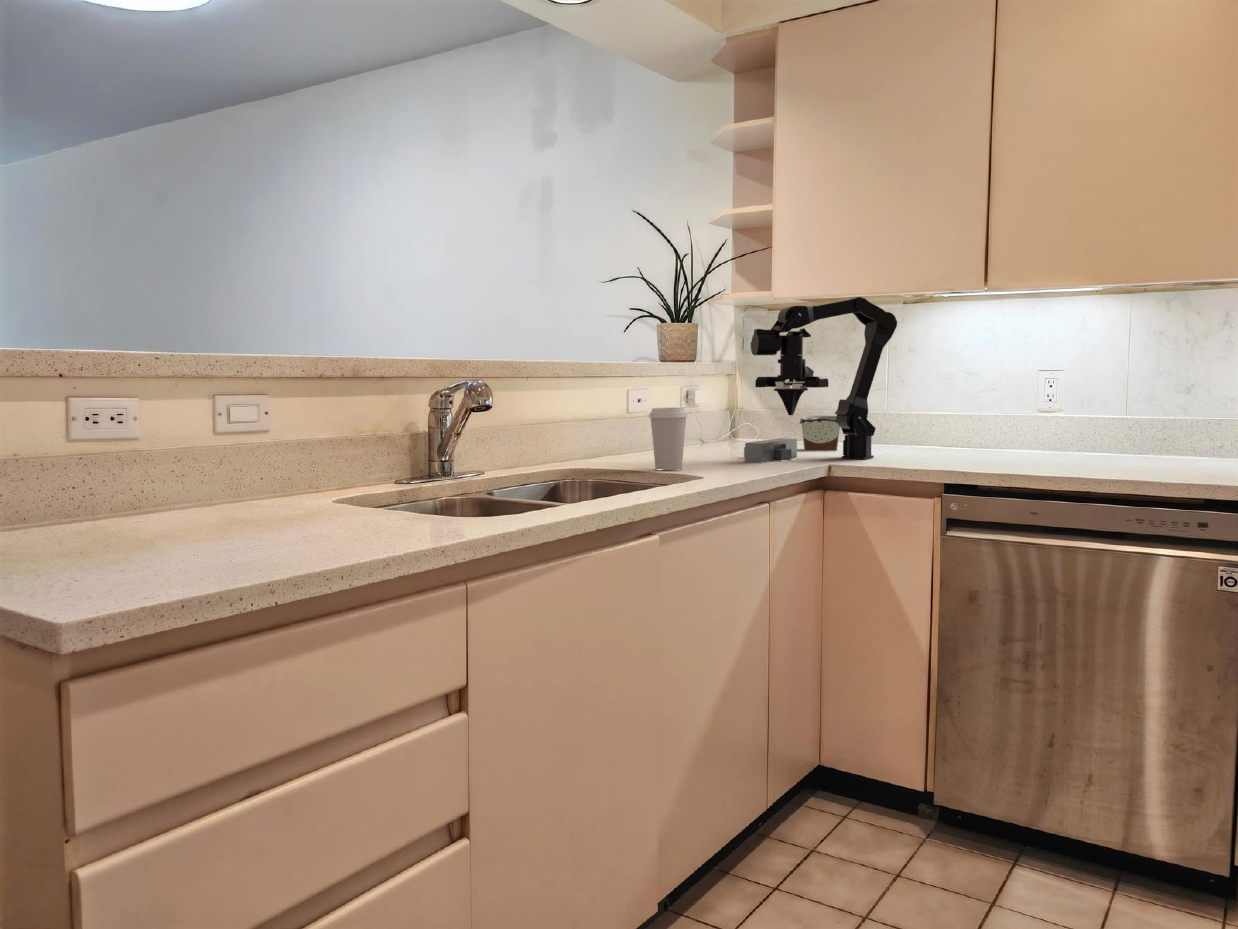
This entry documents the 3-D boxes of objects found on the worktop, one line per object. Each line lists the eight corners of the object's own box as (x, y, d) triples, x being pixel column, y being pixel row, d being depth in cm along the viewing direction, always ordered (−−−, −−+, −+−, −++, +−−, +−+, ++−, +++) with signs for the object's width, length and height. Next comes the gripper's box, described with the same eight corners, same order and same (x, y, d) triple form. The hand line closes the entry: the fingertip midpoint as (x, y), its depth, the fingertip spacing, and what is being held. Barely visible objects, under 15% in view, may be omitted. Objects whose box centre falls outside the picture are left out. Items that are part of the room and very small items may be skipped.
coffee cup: (685, 471, 216) (685, 409, 215) (646, 471, 218) (645, 409, 217) (690, 467, 226) (690, 407, 224) (652, 467, 228) (652, 407, 226)
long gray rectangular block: (796, 457, 247) (796, 438, 247) (761, 462, 234) (761, 443, 233) (780, 456, 250) (780, 438, 250) (745, 461, 237) (745, 442, 236)
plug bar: (791, 460, 240) (791, 448, 240) (781, 461, 238) (781, 450, 237) (753, 457, 250) (753, 446, 250) (744, 458, 247) (744, 447, 247)
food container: (839, 449, 269) (839, 415, 268) (842, 450, 263) (842, 416, 262) (797, 449, 271) (797, 415, 270) (799, 451, 264) (799, 416, 263)
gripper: (838, 354, 235) (837, 414, 237) (775, 356, 247) (775, 413, 249) (818, 354, 227) (817, 416, 229) (754, 355, 239) (754, 415, 240)
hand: (790, 415), depth 237 cm, fingers closed
